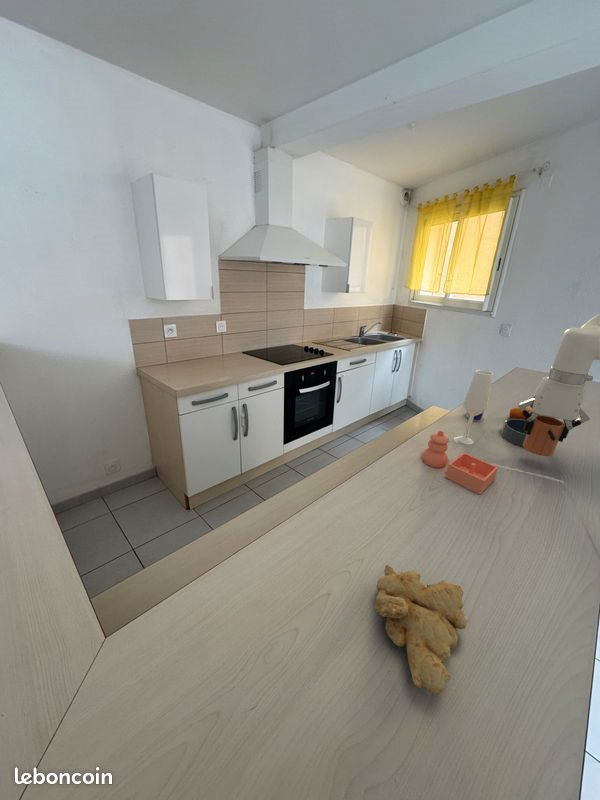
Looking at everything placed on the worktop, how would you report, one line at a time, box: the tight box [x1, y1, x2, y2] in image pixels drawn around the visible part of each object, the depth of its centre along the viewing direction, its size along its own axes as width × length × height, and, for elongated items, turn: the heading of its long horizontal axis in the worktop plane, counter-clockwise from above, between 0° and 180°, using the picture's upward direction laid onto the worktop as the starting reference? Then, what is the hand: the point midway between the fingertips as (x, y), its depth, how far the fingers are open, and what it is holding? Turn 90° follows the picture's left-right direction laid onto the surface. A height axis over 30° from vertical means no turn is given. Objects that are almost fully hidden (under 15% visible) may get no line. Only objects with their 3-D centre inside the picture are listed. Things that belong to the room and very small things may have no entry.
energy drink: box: [465, 411, 485, 423], centre depth 119 cm, size 5×5×12 cm
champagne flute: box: [453, 369, 494, 445], centre depth 101 cm, size 7×7×24 cm
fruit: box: [508, 406, 532, 420], centre depth 119 cm, size 8×8×8 cm
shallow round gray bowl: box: [500, 418, 526, 449], centre depth 107 cm, size 13×13×5 cm
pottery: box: [422, 430, 499, 495], centre depth 88 cm, size 18×10×10 cm, turn 42°
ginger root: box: [374, 564, 467, 695], centre depth 49 cm, size 16×16×8 cm
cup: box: [522, 415, 565, 457], centre depth 89 cm, size 7×12×9 cm, turn 155°
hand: (542, 435), depth 91 cm, fingers closed on cup, 7 cm apart
